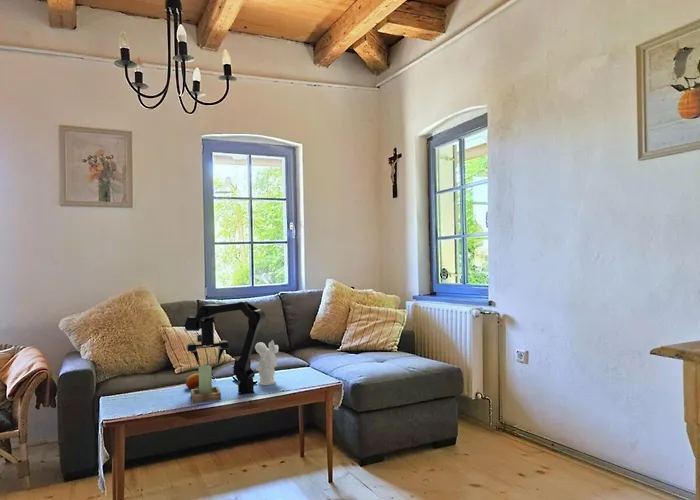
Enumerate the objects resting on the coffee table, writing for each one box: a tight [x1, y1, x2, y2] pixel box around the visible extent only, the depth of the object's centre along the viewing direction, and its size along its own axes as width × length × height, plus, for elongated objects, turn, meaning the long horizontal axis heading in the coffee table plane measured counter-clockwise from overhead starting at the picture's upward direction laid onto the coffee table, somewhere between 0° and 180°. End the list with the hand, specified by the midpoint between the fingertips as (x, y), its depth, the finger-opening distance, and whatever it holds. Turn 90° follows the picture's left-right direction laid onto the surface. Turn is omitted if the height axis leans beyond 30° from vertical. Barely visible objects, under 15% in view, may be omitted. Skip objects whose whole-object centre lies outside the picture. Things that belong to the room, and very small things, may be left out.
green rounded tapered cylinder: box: [198, 364, 213, 395], centre depth 233 cm, size 6×6×13 cm
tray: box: [190, 386, 222, 404], centre depth 233 cm, size 12×12×3 cm
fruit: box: [185, 372, 199, 390], centre depth 251 cm, size 8×8×8 cm
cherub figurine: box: [254, 339, 280, 386], centre depth 257 cm, size 12×12×22 cm
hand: (208, 363), depth 244 cm, fingers open, 9 cm apart
